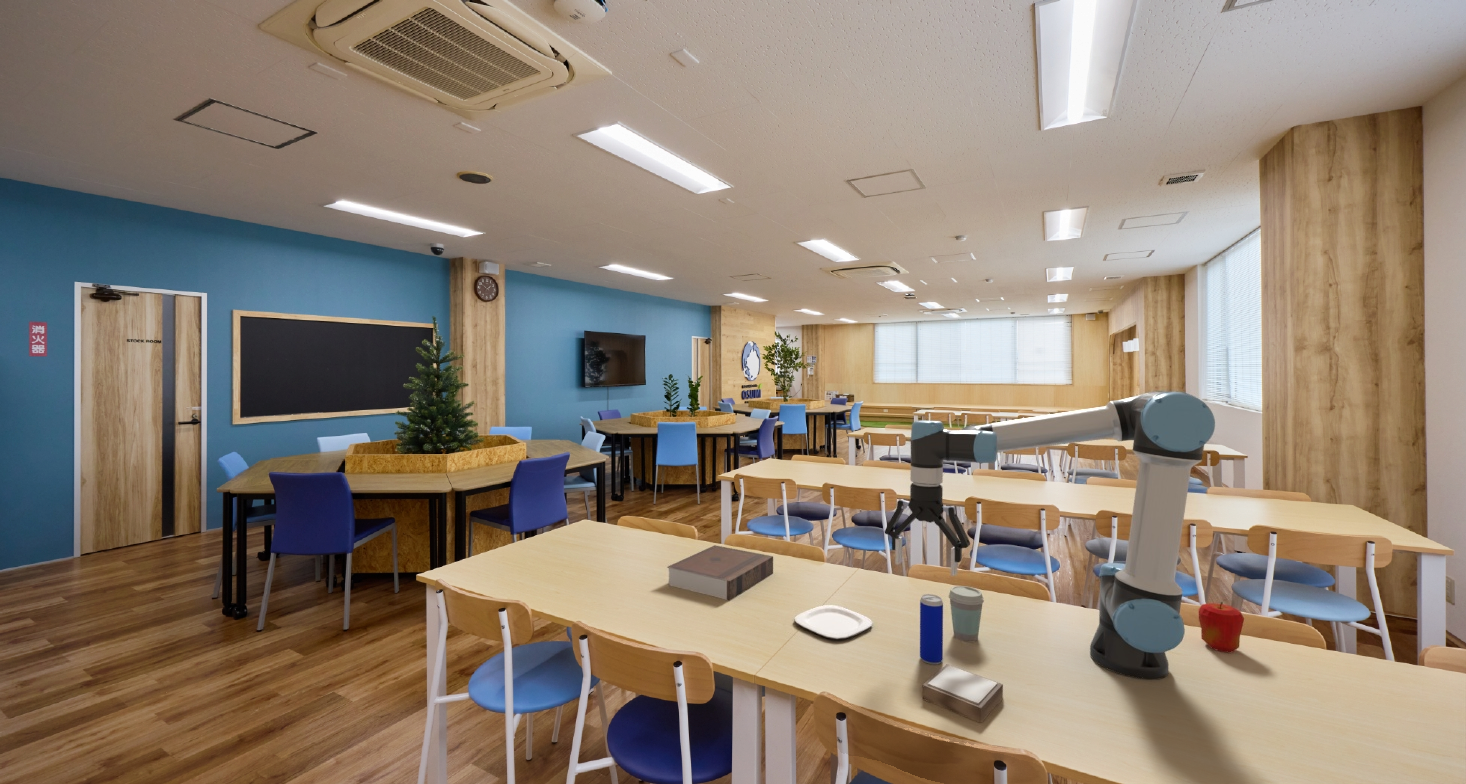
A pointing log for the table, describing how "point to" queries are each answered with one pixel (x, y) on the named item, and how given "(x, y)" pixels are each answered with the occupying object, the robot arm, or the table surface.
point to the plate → (833, 621)
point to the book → (720, 571)
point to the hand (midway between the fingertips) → (925, 569)
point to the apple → (1221, 626)
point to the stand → (963, 692)
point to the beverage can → (931, 629)
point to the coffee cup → (966, 612)
